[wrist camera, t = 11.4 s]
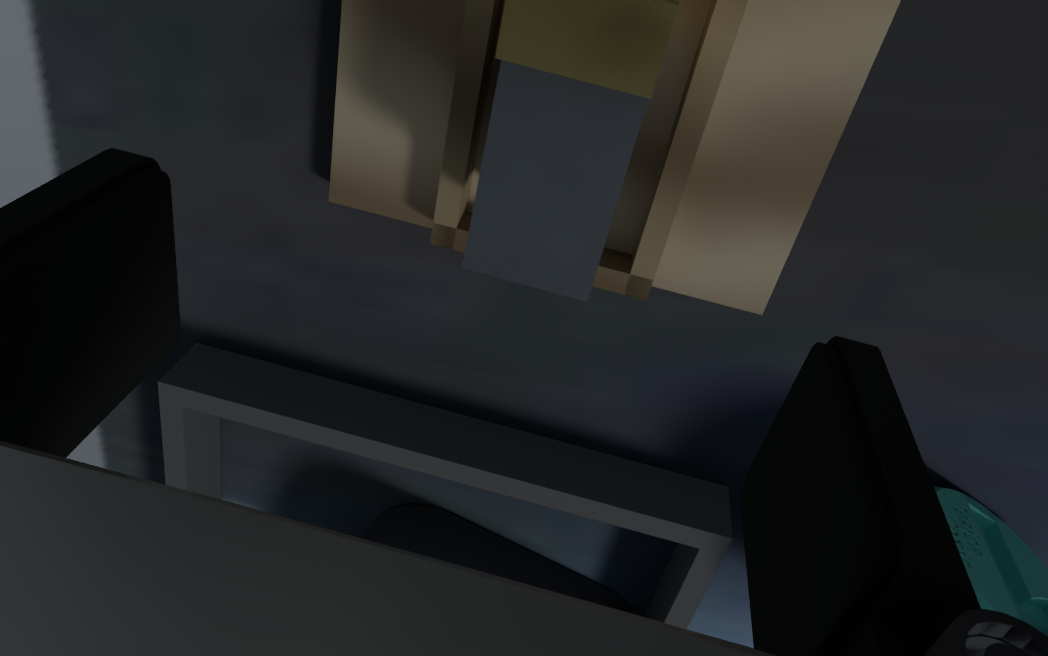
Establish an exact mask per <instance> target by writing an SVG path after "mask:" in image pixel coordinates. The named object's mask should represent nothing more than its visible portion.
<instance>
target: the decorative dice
mask: <svg viewBox="0 0 1048 656" xmlns="http://www.w3.org/2000/svg"><path fill="white" fill-rule="evenodd" d="M934 488H935V491H936V494H937V496H938V499H939V501H940V504H941V506H942V509H943V512H944V514H945V517H946V519H947V522H948V524H949V527H950V530H951V532H952V535H953V537H954V540H955V542H956V545H957V548H958V550H959V553H960V555H961V558H962V560H963V563H964V566H965V568H966V571H967V573H968V576H969V578H970V581H971V584H972V586H973V589H974V591H975V594H976V596H977V599H978V602H979V604H980V607H981V609H988V610H993V611H997V612H1002V613H1006V614H1008V615H1010V616H1013V617H1015V618H1017V619H1020V620H1022V621H1024V622H1027V623H1028V624H1030V625H1031V626H1033V627H1034V628H1036V629H1037V630H1039V631H1041V632H1042V633H1044V634H1045V635H1047V636H1048V569H1047V567H1046V566H1045V565H1044V564H1043V563H1042V561H1041V560H1040V559H1039V558H1038V557H1037V556H1036V555H1035V553H1034V552H1033V551H1032V550H1031V549H1030V548H1029V547H1028V546H1027V545H1026V544H1025V543H1024V542H1023V541H1022V540H1021V539H1020V538H1019V537H1018V536H1017V535H1016V534H1015V533H1014V532H1013V531H1012V530H1011V529H1010V528H1009V527H1008V526H1007V525H1006V524H1005V523H1004V522H1003V521H1001V520H1000V519H999V518H998V517H997V516H996V515H994V514H993V513H992V512H991V511H989V510H988V509H987V508H985V507H984V506H983V505H981V504H980V503H978V502H977V501H975V500H974V499H972V498H971V497H969V496H967V495H965V494H963V493H961V492H959V491H956V490H953V489H948V488H942V487H937V486H934Z"/></svg>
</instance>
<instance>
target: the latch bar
mask: <svg viewBox="0 0 1048 656" xmlns="http://www.w3.org/2000/svg"><path fill="white" fill-rule="evenodd" d="M678 7H679V0H505V6H504V11H503V17H502V22H501V28H500V33H499V38H498V44H497V49H496V55H495V58H497V59H500V60H501V64H500V69H499V75H498V80H497V85H496V90H495V96H494V101H493V106H492V112H491V117H490V122H489V127H488V133H487V138H486V143H485V149H484V154H483V159H482V164H481V170H480V175H479V180H478V185H477V191H476V196H475V201H474V207H473V212H472V217H471V222H470V228H469V233H468V238H467V244H466V249H465V254H464V259H463V265H462V268H464V269H468V270H472V271H475V272H479V273H483V274H486V275H490V276H494V277H497V278H501V279H505V280H508V281H512V282H516V283H519V284H523V285H527V286H530V287H534V288H538V289H541V290H545V291H549V292H552V293H556V294H560V295H563V296H567V297H571V298H574V299H578V300H582V301H585V302H588V299H589V295H590V292H591V289H592V285H593V282H594V279H595V275H596V272H597V269H598V265H599V262H600V259H601V255H602V252H603V249H604V245H605V242H606V239H607V235H608V232H609V229H610V225H611V222H612V219H613V215H614V212H615V209H616V206H617V202H618V199H619V196H620V192H621V189H622V186H623V182H624V179H625V176H626V172H627V169H628V166H629V162H630V159H631V156H632V152H633V149H634V146H635V142H636V139H637V136H638V132H639V129H640V126H641V122H642V119H643V116H644V112H645V109H646V106H647V102H648V99H651V96H652V93H653V90H654V86H655V83H656V80H657V76H658V73H659V70H660V66H661V63H662V60H663V57H664V53H665V50H666V47H667V43H668V40H669V37H670V33H671V30H672V27H673V23H674V20H675V17H676V14H677V10H678Z"/></svg>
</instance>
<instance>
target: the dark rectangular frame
mask: <svg viewBox="0 0 1048 656" xmlns="http://www.w3.org/2000/svg"><path fill="white" fill-rule="evenodd" d="M158 392H159V404H160V417H161V430H162V443H163V456H164V469H165V482H166V485H168V486H172V487H175V488H179V489H183V490H186V491H190V492H194V493H198V494H201V495H205V496H209V497H212V498H216V499H220V500H222V498H221V453H220V417H222V418H225V419H229V420H233V421H236V422H240V423H244V424H247V425H251V426H255V427H258V428H262V429H265V430H269V431H273V432H276V433H280V434H284V435H287V436H291V437H295V438H298V439H302V440H306V441H309V442H313V443H316V444H320V445H324V446H327V447H331V448H335V449H338V450H342V451H346V452H349V453H353V454H357V455H360V456H364V457H367V458H371V459H375V460H378V461H382V462H386V463H389V464H393V465H397V466H400V467H404V468H408V469H411V470H415V471H418V472H422V473H426V474H429V475H433V476H437V477H440V478H444V479H448V480H451V481H455V482H459V483H462V484H466V485H469V486H473V487H477V488H480V489H484V490H488V491H491V492H495V493H499V494H502V495H506V496H510V497H513V498H517V499H520V500H524V501H528V502H531V503H535V504H539V505H542V506H546V507H550V508H553V509H557V510H561V511H564V512H568V513H571V514H575V515H579V516H582V517H586V518H590V519H593V520H597V521H601V522H604V523H608V524H612V525H615V526H619V527H622V528H626V529H630V530H633V531H637V532H641V533H644V534H648V535H652V536H655V537H659V538H663V539H666V540H670V541H673V542H677V544H676V547H675V549H674V551H673V553H672V555H671V558H670V560H669V562H668V564H667V566H666V569H665V571H664V573H663V575H662V577H661V579H660V582H659V584H658V586H657V588H656V590H655V593H654V595H653V597H652V599H651V601H650V604H649V606H648V608H647V610H646V612H645V614H644V617H646V618H649V619H653V620H656V621H660V622H663V623H666V624H670V625H673V626H677V627H680V628H683V629H687V627H688V625H689V623H690V621H691V619H692V617H693V615H694V613H695V611H696V609H697V607H698V605H699V603H700V601H701V599H702V598H703V596H704V594H705V592H706V590H707V588H708V586H709V584H710V582H711V580H712V578H713V576H714V574H715V572H716V570H717V568H718V566H719V564H720V563H721V561H722V559H723V557H724V555H725V553H726V551H727V549H728V547H729V545H730V543H731V541H732V539H733V537H732V524H731V512H730V499H729V487H728V486H724V485H721V484H717V483H713V482H710V481H706V480H702V479H698V478H695V477H691V476H687V475H684V474H680V473H676V472H673V471H669V470H665V469H662V468H658V467H654V466H651V465H647V464H643V463H639V462H636V461H632V460H628V459H625V458H621V457H617V456H614V455H610V454H606V453H603V452H599V451H595V450H591V449H588V448H584V447H580V446H577V445H573V444H569V443H566V442H562V441H558V440H555V439H551V438H547V437H544V436H540V435H536V434H532V433H529V432H525V431H521V430H518V429H514V428H510V427H507V426H503V425H499V424H496V423H492V422H488V421H485V420H481V419H477V418H473V417H470V416H466V415H462V414H459V413H455V412H451V411H448V410H444V409H440V408H437V407H433V406H429V405H426V404H422V403H418V402H414V401H411V400H407V399H403V398H400V397H396V396H392V395H389V394H385V393H381V392H378V391H374V390H370V389H367V388H363V387H359V386H355V385H352V384H348V383H344V382H341V381H337V380H333V379H330V378H326V377H322V376H319V375H315V374H311V373H307V372H304V371H300V370H296V369H293V368H289V367H285V366H282V365H278V364H274V363H271V362H267V361H263V360H260V359H256V358H252V357H248V356H245V355H241V354H237V353H234V352H230V351H226V350H223V349H219V348H215V347H212V346H208V345H204V344H201V343H197V342H196V343H195V344H194V345H193V346H192V348H191V349H190V350H189V351H188V352H187V353H186V354H185V355H184V356H183V357H182V358H181V359H180V360H179V361H178V362H177V363H176V364H175V365H174V366H173V367H172V368H171V369H170V370H169V371H168V372H167V373H166V374H165V375H164V376H163V377H162V378H161V379H160V380H159V381H158Z"/></svg>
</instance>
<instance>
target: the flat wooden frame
mask: <svg viewBox="0 0 1048 656" xmlns="http://www.w3.org/2000/svg"><path fill="white" fill-rule="evenodd" d="M900 1H901V0H679V7H678V10H677V14H676V17H675V20H674V23H673V27H672V30H671V33H670V37H669V40H668V43H667V47H666V50H665V53H664V57H663V60H662V63H661V66H660V70H659V73H658V76H657V80H656V83H655V86H654V90H653V93H652V96H651V99H648V102H647V106H646V109H645V112H644V116H643V119H642V122H641V126H640V129H639V132H638V136H637V139H636V142H635V146H634V149H633V152H632V156H631V159H630V162H629V166H628V169H627V172H626V176H625V179H624V182H623V186H622V189H621V192H620V196H619V199H618V202H617V206H616V209H615V212H614V215H613V219H612V222H611V225H610V229H609V232H608V235H607V239H606V242H605V245H604V249H603V252H602V255H601V259H600V262H599V265H598V269H597V272H596V275H595V279H594V282H593V285H592V286H594V287H597V288H601V289H605V290H609V291H613V292H616V293H620V294H624V295H628V296H632V297H635V298H639V299H643V300H647V298H648V295H649V292H650V289H651V286H653V287H657V288H661V289H665V290H669V291H672V292H676V293H680V294H684V295H688V296H691V297H695V298H699V299H703V300H707V301H710V302H714V303H718V304H722V305H726V306H730V307H733V308H737V309H741V310H745V311H749V312H752V313H756V314H760V315H762V314H763V312H764V309H765V307H766V305H767V303H768V300H769V298H770V296H771V294H772V291H773V289H774V287H775V284H776V282H777V280H778V278H779V275H780V273H781V271H782V269H783V266H784V264H785V262H786V260H787V257H788V255H789V253H790V250H791V248H792V246H793V244H794V241H795V239H796V237H797V235H798V232H799V230H800V228H801V226H802V223H803V221H804V219H805V216H806V214H807V212H808V210H809V207H810V205H811V203H812V201H813V198H814V196H815V194H816V191H817V189H818V187H819V185H820V182H821V180H822V178H823V176H824V173H825V171H826V169H827V167H828V164H829V162H830V160H831V157H832V155H833V153H834V151H835V148H836V146H837V144H838V142H839V139H840V137H841V135H842V132H843V130H844V128H845V126H846V123H847V121H848V119H849V117H850V114H851V112H852V110H853V108H854V105H855V103H856V101H857V98H858V96H859V94H860V92H861V89H862V87H863V85H864V83H865V80H866V78H867V76H868V74H869V71H870V69H871V67H872V64H873V62H874V60H875V58H876V55H877V53H878V51H879V49H880V46H881V44H882V42H883V39H884V37H885V35H886V33H887V30H888V28H889V26H890V24H891V21H892V19H893V17H894V15H895V12H896V10H897V8H898V5H899V3H900ZM504 6H505V0H342V9H341V24H340V39H339V54H338V69H337V84H336V100H335V115H334V130H333V145H332V160H331V175H330V190H329V202H333V203H337V204H341V205H345V206H348V207H352V208H356V209H360V210H364V211H367V212H371V213H375V214H379V215H383V216H386V217H390V218H394V219H398V220H402V221H406V222H409V223H413V224H417V225H421V226H425V227H428V228H432V234H431V241H430V244H434V245H438V246H442V247H445V248H449V249H453V250H457V251H461V252H464V253H465V249H466V244H467V238H468V233H469V228H470V222H471V217H472V212H473V207H474V201H475V196H476V191H477V185H478V180H479V175H480V170H481V164H482V159H483V154H484V149H485V143H486V138H487V133H488V127H489V122H490V117H491V112H492V106H493V101H494V96H495V90H496V85H497V80H498V75H499V69H500V64H501V60H500V59H497V58H495V55H496V49H497V44H498V38H499V33H500V28H501V22H502V17H503V11H504Z"/></svg>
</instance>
